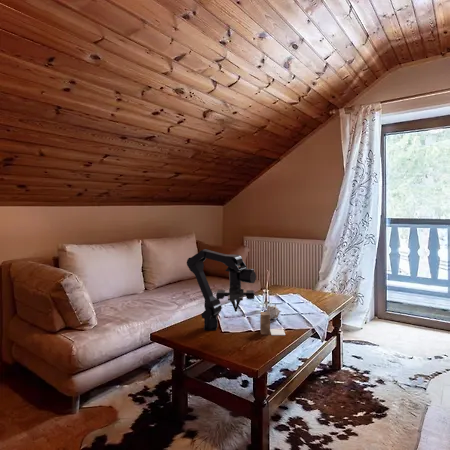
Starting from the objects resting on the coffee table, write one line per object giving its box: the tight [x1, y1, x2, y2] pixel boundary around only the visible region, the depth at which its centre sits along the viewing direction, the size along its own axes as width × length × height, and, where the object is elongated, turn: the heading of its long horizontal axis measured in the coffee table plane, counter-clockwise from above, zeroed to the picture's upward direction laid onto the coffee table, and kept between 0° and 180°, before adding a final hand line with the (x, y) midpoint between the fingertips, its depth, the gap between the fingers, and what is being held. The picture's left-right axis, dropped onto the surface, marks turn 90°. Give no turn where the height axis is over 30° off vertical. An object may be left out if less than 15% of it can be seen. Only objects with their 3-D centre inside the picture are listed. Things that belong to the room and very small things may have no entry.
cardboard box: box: [259, 311, 271, 335], centre depth 178 cm, size 5×4×10 cm
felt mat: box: [270, 328, 286, 336], centre depth 179 cm, size 7×7×1 cm
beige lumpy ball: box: [265, 303, 282, 320], centre depth 197 cm, size 9×8×10 cm
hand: (235, 311), depth 175 cm, fingers closed
